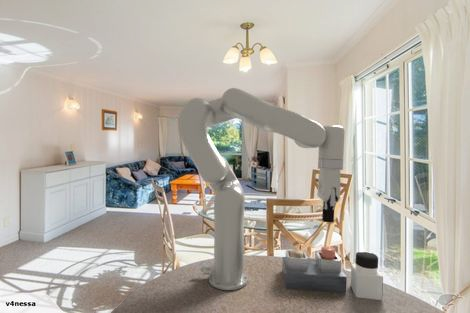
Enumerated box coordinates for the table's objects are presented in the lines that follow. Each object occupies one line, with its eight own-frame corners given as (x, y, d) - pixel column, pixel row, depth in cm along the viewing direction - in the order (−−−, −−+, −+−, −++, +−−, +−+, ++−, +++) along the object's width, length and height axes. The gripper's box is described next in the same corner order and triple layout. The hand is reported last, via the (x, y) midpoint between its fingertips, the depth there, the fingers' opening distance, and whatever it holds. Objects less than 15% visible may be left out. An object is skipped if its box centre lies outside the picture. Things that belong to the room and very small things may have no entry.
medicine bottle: (382, 301, 75) (384, 259, 75) (355, 297, 77) (357, 257, 76) (374, 288, 82) (375, 250, 82) (350, 285, 84) (351, 248, 83)
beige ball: (290, 266, 84) (290, 254, 84) (289, 261, 88) (289, 249, 88) (304, 267, 84) (304, 255, 84) (301, 261, 88) (302, 249, 88)
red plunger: (322, 263, 83) (323, 251, 83) (319, 258, 87) (320, 246, 87) (336, 264, 83) (336, 251, 83) (332, 258, 87) (333, 246, 87)
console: (285, 289, 81) (285, 261, 80) (282, 270, 93) (282, 246, 92) (346, 293, 79) (346, 264, 79) (335, 273, 91) (335, 249, 91)
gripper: (313, 162, 92) (311, 215, 92) (323, 165, 77) (321, 227, 78) (335, 163, 91) (333, 216, 92) (350, 166, 76) (347, 229, 77)
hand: (327, 221), depth 85 cm, fingers closed
